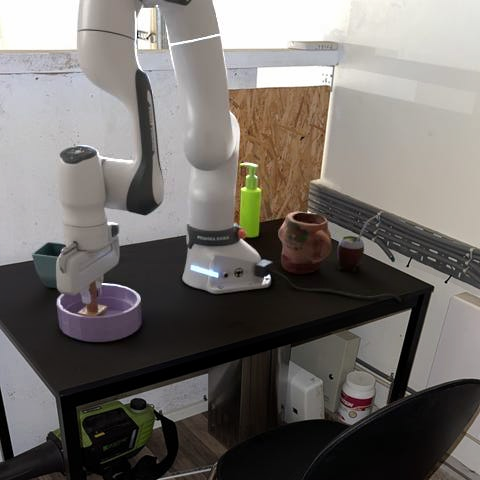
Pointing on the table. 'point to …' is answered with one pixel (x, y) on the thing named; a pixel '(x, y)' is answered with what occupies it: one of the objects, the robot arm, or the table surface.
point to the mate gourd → (351, 250)
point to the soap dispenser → (250, 203)
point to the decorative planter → (304, 242)
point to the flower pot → (47, 262)
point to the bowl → (101, 327)
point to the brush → (93, 305)
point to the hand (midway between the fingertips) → (92, 298)
